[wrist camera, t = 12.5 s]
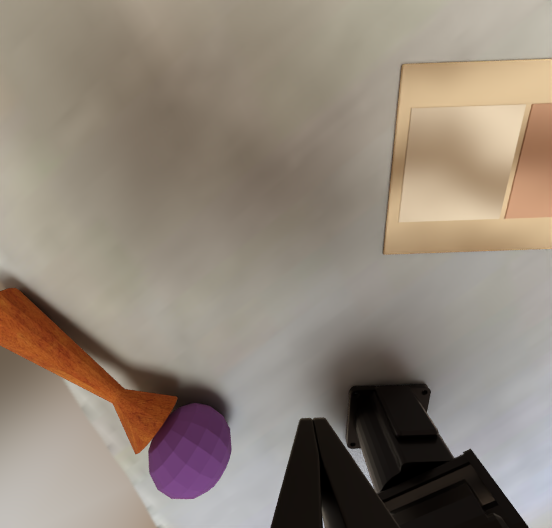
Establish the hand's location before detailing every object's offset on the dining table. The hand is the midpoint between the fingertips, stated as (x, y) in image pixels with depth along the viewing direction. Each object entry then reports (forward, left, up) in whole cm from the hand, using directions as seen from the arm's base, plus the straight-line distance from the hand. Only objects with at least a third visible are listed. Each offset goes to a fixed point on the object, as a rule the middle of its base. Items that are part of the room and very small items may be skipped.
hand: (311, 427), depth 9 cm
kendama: (-7, +13, -12) cm, 19 cm away
